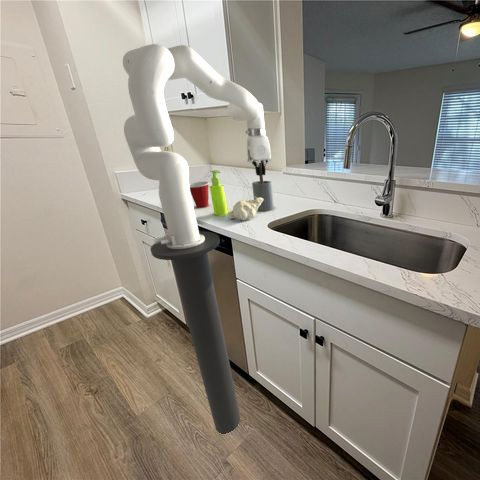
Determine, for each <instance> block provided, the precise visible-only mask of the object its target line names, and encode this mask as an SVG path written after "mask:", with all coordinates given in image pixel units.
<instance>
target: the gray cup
mask: <svg viewBox="0 0 480 480" xmlns="http://www.w3.org/2000/svg"><path fill="white" fill-rule="evenodd" d="M263 183H264V184H260V180H257V181H253V182H252V183H251V186H252V187H251V188H252V194H253V200H255V199H256V198H259V197H261V198H263V200H264V201H263V202H262V203H261V205H260V206H259V207H258V210H257V212H267V211H268V212H269V211H273V210H274V198H273V197H274V196H273V185H272V181H270V180H263Z"/></svg>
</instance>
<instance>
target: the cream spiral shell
mask: <svg viewBox="0 0 480 480" xmlns="http://www.w3.org/2000/svg"><path fill="white" fill-rule="evenodd" d="M263 201H264V200H263V198H261V197H259V198H256V199H255V200H254V199H250V200H238V201H237V202H236V203H235V204H234V205H233V208H232V210H231V211H228V213H227V214H226V215H227V216H226V217H227V219H229V220H241V221H247V220H248V221H250V220H251V219H253V218H255V217H256V215H257V212H258V211H257V210H258V207H259V206H260V205H261V203H262V202H263Z"/></svg>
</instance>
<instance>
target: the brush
mask: <svg viewBox="0 0 480 480" xmlns="http://www.w3.org/2000/svg"><path fill="white" fill-rule="evenodd" d="M259 167H260V168H261V176H258V178H259V181H260V184H264V183H263V181H264V175H263V173H262V163H261V162H259Z"/></svg>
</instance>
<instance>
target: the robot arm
mask: <svg viewBox="0 0 480 480" xmlns="http://www.w3.org/2000/svg"><path fill="white" fill-rule="evenodd" d="M122 65H123V66H122V67H123V69H124V72H125V73H126V74H127V75H128V81H127V88H128V95H129V99H130V101H131V102H130V103H131V105H132V109H133V112H134V114H133V115H130V116H129V117H128V118H127V119H125V122H124V124H123V133H124V138H125V140H126V144H127V147H128V148H129V151H130V154H131V156H132V159H133V161H134V164H135V167H136V169H137V171H138V172H139V173H140V174H141V175H142V176H143V177H145V178H146V179H149V180H152V181H158V197H159V201H160V205H161V209H162V213H163V217H164V220H165V224H166V228H167V232H166V233H165V235H163V236H162V237H155V238H153V241H154V244H159V243H161V244H166V245H167V247H168V248H170V249H186V248H191V247H194V246H197V245H199V244H201V243H203V242H204V240H205V237H204V236H203V235H201V234H199V231H200V230H199V227H198V221H197V217H196V212H195V206H194V201H193V197H192V195H191V192H190V186H189V184H190V169H189V164H188V161H187V160H186V159H185V158H184V157H183V156H182V155H181V154H179V153H177V152H174V151H167V150H162V149H161V148H163V147H169V146H171V145H172V144H173V143H174V140H175V133H174V129H173V125H172V122H171V119H170V115H169V113H168V109H167V104H166V101H165V95H164V91H165V86H166V83H167V82H168V81H173V80H179V79H186V80H187V81H189V82H190V83H191V84H192V85H194V87H196V88H197V89H198V90H200V92H202V93H203V94H205V95H206V96H207V97H209V98H211V99H214V100H217V101H221V102H226V103H228V104H227V107H226V109H227V110H226V111H227V114H228V116H229V117H230V119H232V120H234V121H239V122H241V121H246V127H247V129H246V130H245V134H246V135H247V137H246V154H247V155H246V156H247V163H248V164H252V165H253V167H254V169H255V175H256V176H258V177H259V176H261V168H260V167H259V163H262V173H263V176H266V166H267V164H268V163H269V162H271V160H272V152H271V145H270V140H269V137H268V136H266V125H265V115H264V105H263V103H261V102H259V101H258V99H257V98H256V97H255V96H254V95H253V94H252V93H251V92H250V91H249V90H247V89H246V88H245V87H243V86H242V85H240V84H238V83H236V82H234V81H232V80H230V79H228V78H225V77H224V76H222V75H221V74H220V73H218V72H217V70H215V69H214V68H213V67H212V66H211V64H209V63H208V62H207V61H206V60H205V59H204V58H203V57H202V56H201V55H200V54H198V52H197V51H195V50H194V49H193V48H192V47H191V46H188V45H186V44H183V45H182V44H180V45H175V46H172V47H168V48H167V47H166V46H164V45H162V44H158V43H157V44H156V43H151V44H146V45H144V46H143V45H142V46H140V47H138V48H137V47H136V48H134V49H130V50H128V51H126V52H125V53H124V55H123V56H122Z"/></svg>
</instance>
